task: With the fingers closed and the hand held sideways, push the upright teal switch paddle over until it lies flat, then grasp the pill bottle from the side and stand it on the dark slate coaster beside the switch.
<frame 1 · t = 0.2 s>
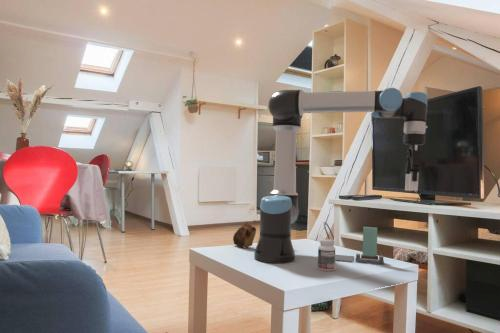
hand: (410, 190, 139), 27 cm above the table, tool pointing down, fingers open, 13 cm apart
pill bottle: (326, 269, 127), on the table
switch paddle: (369, 243, 140), point 7 cm above the table, hinge at 0.0°
switch base: (369, 262, 140), on the table
decorative rock: (244, 247, 163), on the table
coaster: (339, 258, 145), on the table
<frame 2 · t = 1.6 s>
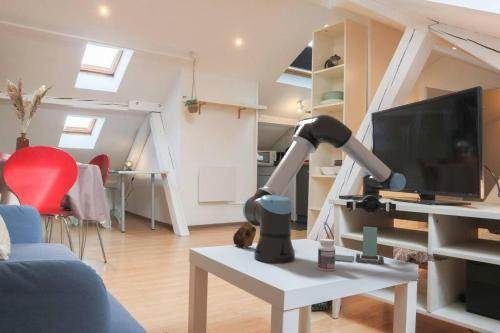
hand: (370, 207, 146), 20 cm above the table, tool horizontal, fingers open, 12 cm apart
nothing on the table moved.
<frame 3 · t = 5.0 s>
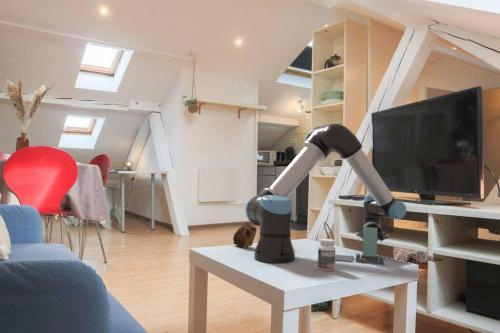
hand: (373, 239, 140), 8 cm above the table, tool horizontal, fingers closed
switch paddle: (369, 243, 139), point 7 cm above the table, hinge at 6.2°, touching gripper
everything else where it was.
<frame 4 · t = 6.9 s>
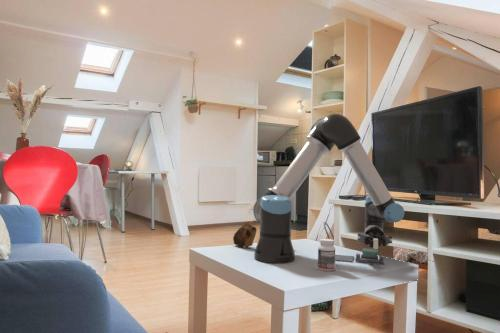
hand: (375, 245, 129), 8 cm above the table, tool horizontal, fingers closed
switch paddle: (369, 253, 135), point 4 cm above the table, hinge at 67.3°
everything else where it was.
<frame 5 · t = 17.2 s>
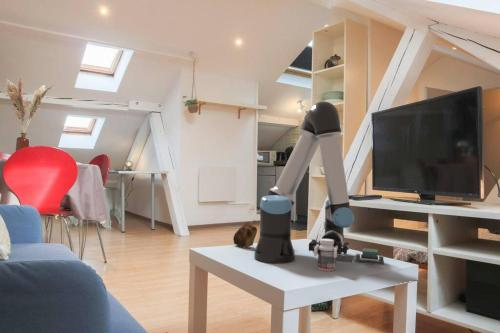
hand: (325, 252, 122), 7 cm above the table, tool horizontal, fingers closed on pill bottle, 6 cm apart
pill bottle: (326, 269, 127), on the table, touching gripper
everything else where it was.
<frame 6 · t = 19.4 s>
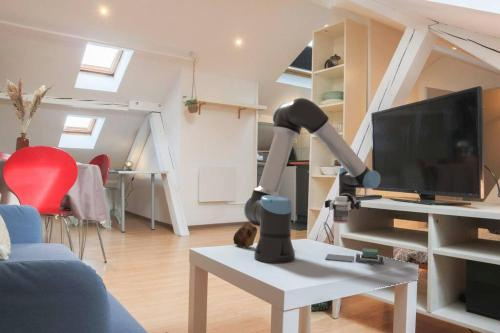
hand: (339, 206, 138), 21 cm above the table, tool horizontal, fingers closed on pill bottle, 6 cm apart
pill bottle: (340, 223, 142), point 14 cm above the table, touching gripper
everything else where it was.
when the fingers open (8 cm above the table, at t = 22.1 s): pill bottle drops 1 cm, resting on coaster.
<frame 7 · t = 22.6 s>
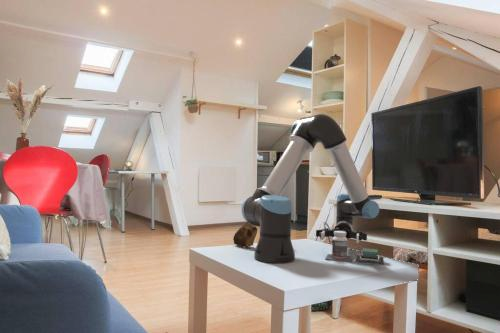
hand: (339, 237, 142), 8 cm above the table, tool horizontal, fingers open, 12 cm apart
pill bottle: (339, 257, 145), resting on coaster
everything else where it was.
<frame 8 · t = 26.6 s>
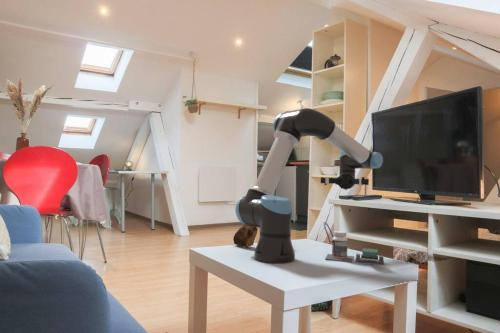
hand: (343, 181, 155), 30 cm above the table, tool horizontal, fingers open, 13 cm apart
nothing on the table moved.
at the end: switch paddle at +67° (first picture: +0°); pill bottle inside the target area on the coaster (0.0 cm from its centre), point 0.2 cm above the coaster's base; pill bottle tilted 0° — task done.
